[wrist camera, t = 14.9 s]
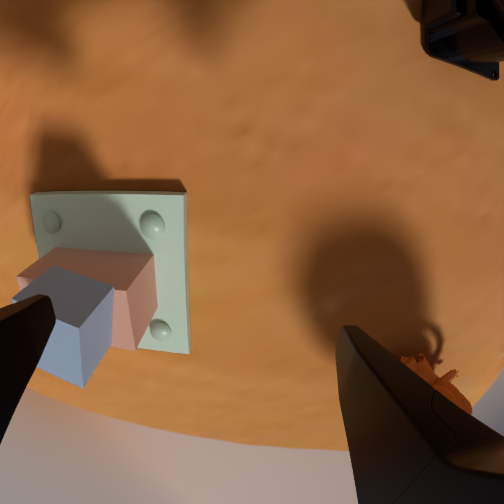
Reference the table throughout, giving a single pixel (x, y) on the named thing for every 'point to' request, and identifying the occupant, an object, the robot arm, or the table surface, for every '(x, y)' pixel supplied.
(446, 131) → the table surface
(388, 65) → the table surface
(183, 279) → the plate
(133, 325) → the terracotta brick
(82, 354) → the blue brick
